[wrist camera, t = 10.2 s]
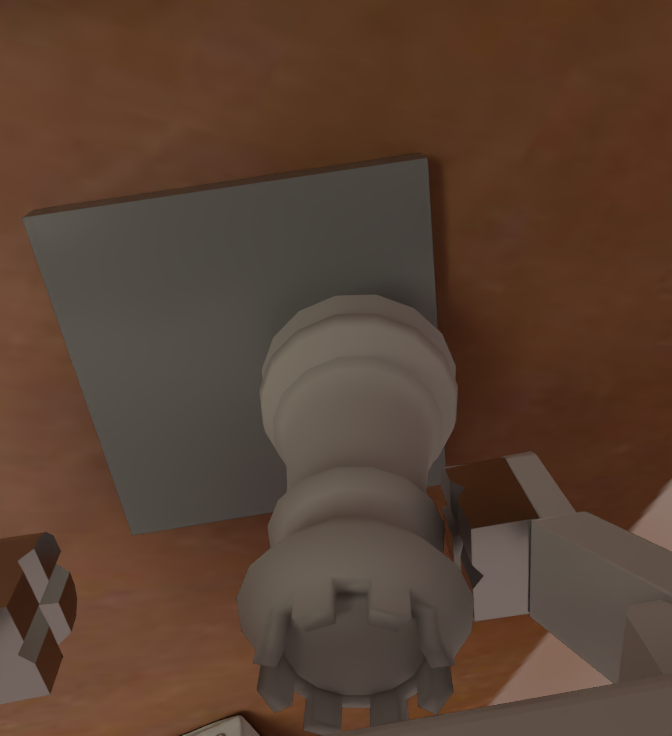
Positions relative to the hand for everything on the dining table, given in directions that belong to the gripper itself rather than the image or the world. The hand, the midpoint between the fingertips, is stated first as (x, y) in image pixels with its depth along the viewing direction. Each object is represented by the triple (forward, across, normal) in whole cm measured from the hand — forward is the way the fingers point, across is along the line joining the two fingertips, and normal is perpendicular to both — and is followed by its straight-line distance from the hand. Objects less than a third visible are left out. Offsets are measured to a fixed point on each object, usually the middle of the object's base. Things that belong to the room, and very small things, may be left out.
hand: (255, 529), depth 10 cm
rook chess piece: (+5, -2, 0) cm, 6 cm away
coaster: (+7, 0, 0) cm, 7 cm away
